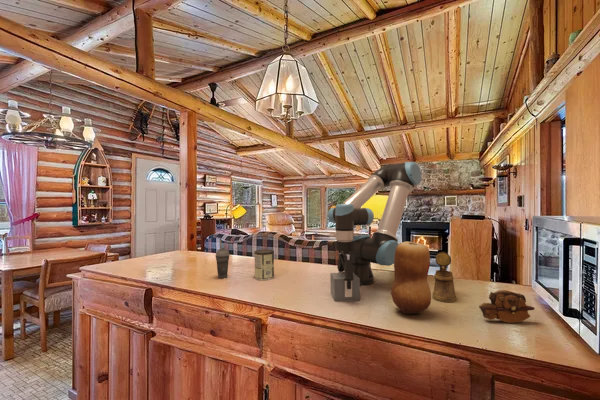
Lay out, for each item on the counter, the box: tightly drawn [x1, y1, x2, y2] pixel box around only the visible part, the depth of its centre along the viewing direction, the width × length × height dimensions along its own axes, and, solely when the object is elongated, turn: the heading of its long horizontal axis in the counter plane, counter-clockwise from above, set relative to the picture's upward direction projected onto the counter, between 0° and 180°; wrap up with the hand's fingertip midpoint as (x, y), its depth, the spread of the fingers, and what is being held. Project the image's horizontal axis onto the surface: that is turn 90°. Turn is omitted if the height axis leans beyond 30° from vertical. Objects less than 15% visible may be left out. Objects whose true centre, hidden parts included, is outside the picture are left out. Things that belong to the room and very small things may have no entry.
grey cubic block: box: [329, 272, 361, 302], centre depth 119 cm, size 10×10×9 cm
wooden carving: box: [478, 289, 536, 324], centre depth 93 cm, size 16×5×10 cm, turn 90°
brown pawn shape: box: [431, 251, 458, 303], centre depth 118 cm, size 9×14×18 cm, turn 155°
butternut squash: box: [390, 240, 432, 315], centre depth 102 cm, size 14×13×25 cm
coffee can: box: [253, 249, 275, 281], centre depth 150 cm, size 10×10×14 cm
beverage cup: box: [215, 239, 231, 280], centre depth 150 cm, size 7×7×20 cm
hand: (344, 291), depth 119 cm, fingers open, 13 cm apart
